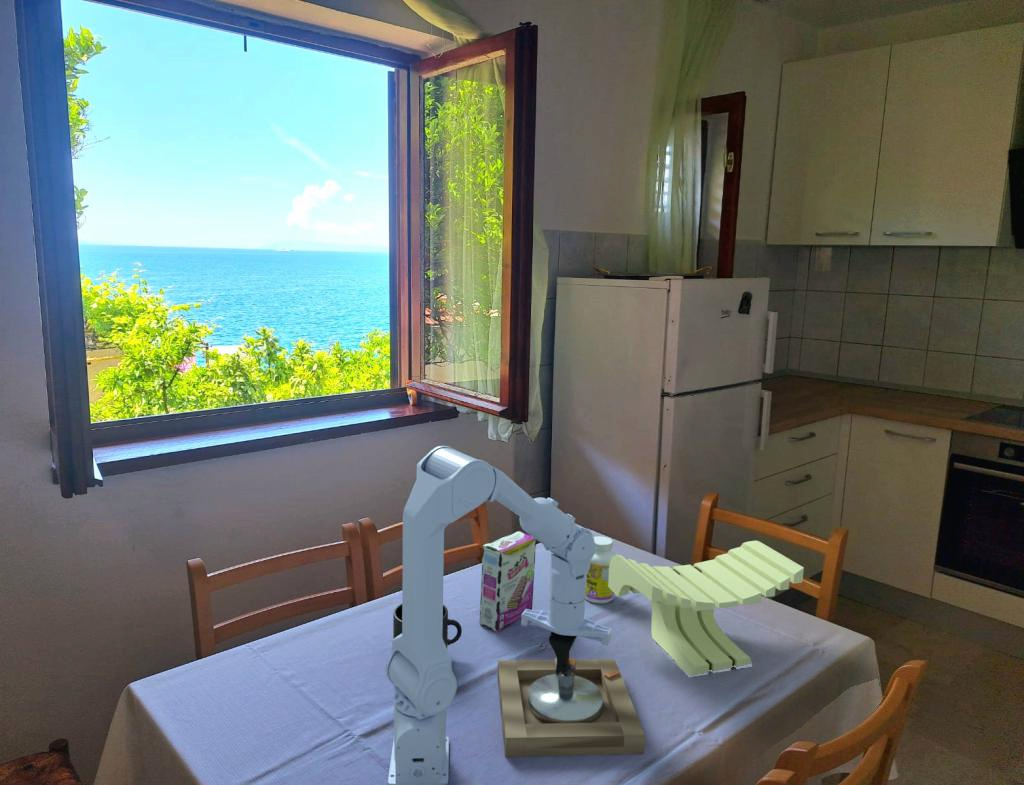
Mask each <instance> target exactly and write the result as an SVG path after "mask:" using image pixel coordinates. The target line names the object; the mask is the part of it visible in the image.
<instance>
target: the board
mask: <svg viewBox="0 0 1024 785" xmlns="http://www.w3.org/2000/svg"><path fill="white" fill-rule="evenodd" d="M556 665H557V658H556V657H554V659H524V660H523V659H519V660H517V659H516V660H514V659H513V660H512V659H511V660H506V659H505V660H504V659H503V660H501V659H500V660H499V659H498V660H497V675H496V676H497V687H498V697H499V706H500V715H501V727H502V729H501V730H502V736H503V738H502V739H503V746H504V747H503V748H504V756H505V758H512V757H513V758H514V757H515V758H519V757H523V758H524V757H525V758H526V757H561V756H564V757H565V756H566V757H567V756H568V757H569V756H598V755H599V756H603V755H604V756H605V755H607V756H608V755H612V756H613V755H639V754H638V753H644V752H645V742H646V740H645V739H646V734H645V732H644V728H643V727H642V724H641V721H640V719H639V716H638V714H637V712H636V709H635V706H634V704H633V701H632V698H631V697H630V693H629V691H628V689H627V686H626V684H625V681H624V679H623V676H622V673H621V671H620V669H619V665H618V664H617V661H616V658H605V659H604V658H601V659H599V658H593V659H592V658H591V659H590V658H589V659H585V658H583V659H582V658H581V659H576V676H579V677H582V678H585V679H587V680H589V681H591V682H592V683H594V684H595V685H596V686H597V687H598V688H599V689H600V691H601V693H602V695H603V706H602V712H601V715H600V716H599V717H598V719H596V720H595V721H594V722H592V723H553V724H547V723H545V722H543V721H541V720H540V719H538V718H537V717H536V716H534V715H533V713H532V712H531V711H530V709H529V706H528V692H529V688H530V686H531V685H532V683H533V682H535V681H536V680H537V679H539V678H541V677H544V676H547V675H552V674H556Z"/></svg>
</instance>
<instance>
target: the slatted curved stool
mask: <svg viewBox="0 0 1024 785" xmlns="http://www.w3.org/2000/svg"><path fill="white" fill-rule="evenodd" d="M804 569H805V567H804V566H802V565H800V564H798V563H797V562H795V561H794V560H791V559H790V558H789V557H786V556H785V555H783V554H782V553H780V552H778V551H776V550H775V549H773V548H771V547H770V546H768V545H766V544H764V543H763V542H761V541H759V540H751V541H750V540H749V541H745V542H742V543H741V545H740V546H739V547H738V546H737V547H735V548H731V549H729V550H728V551H727V553H723V554H719V555H715V557H714V559H710V560H705V561H700V562H696V563H694V564H693V565H691V564H685V565H673V566H672V567H670V566H664V565H663V566H657V565H652V566H650V565H649V564H648V563H643V562H639V563H638V561H636V560H634V559H630V558H627V559H626V558H625V557H624V556H623V555H620V554H616V555H614V556H613V557H612V558H611V561H610V565H609V579H608V587H609V588H610V589H611V590H612V591H613V592H614V595H616V597H618V598H620V597H623V596H626V595H628V594H629V592H632V594H640V593H641V594H642V595H643V596H644V597H645V598H646V599H648V601H650V604H651V606H650V607H651V626H650V627H651V629H650V630H651V633H650V634H651V637H652V640H653V639H654V640H655V641H656V642H657V643H658V644H659V645H660V646H661V647H662V648H663V649H664V650H665V651H666V652H667V653H669V655H670V656H671V657H672V659H674V660H675V661H676V663H677V664H678V665H679V666H680V667H681V668H682V669H683V670H684V671H685V672H686V673H688V674H689V675H690V676H693V675H698V674H704V673H710V672H709V670H712V671H718V670H724V669H729V668H732V666H734V665H735V666H736V667H739V666H744V665H748V664H753V663H752V658H751V657H750V656H749V655H747V654H746V653H745V652H744V651H743V650H742V649H741V648H740V647H738V645H737V644H736V643H734V642H733V641H732V640H731V639H730V638H729V637H728V636H727V635H726V633H724V631H723V630H722V629H721V627H720V626H719V625H718V623H717V621H716V619H715V614H714V612H715V611H714V610H715V607H716V608H718V609H724V608H731V607H738V605H739V604H740V605H741V606H746V605H752V604H753V605H755V604H761V602H762V601H761V600H762V596H763V597H765V598H769V597H775V596H776V589H777V590H778V591H785V590H789V589H790V583H792V584H793V585H794V584H800V583H801V584H802V583H803V579H804ZM672 659H671V660H672ZM676 663H675V664H676ZM677 664H676V665H677ZM678 665H677V666H678ZM679 666H678V667H679ZM680 667H679V668H680ZM681 668H680V669H681ZM682 669H681V670H682ZM732 669H733V668H732Z"/></svg>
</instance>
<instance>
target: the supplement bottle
mask: <svg viewBox="0 0 1024 785" xmlns="http://www.w3.org/2000/svg"><path fill="white" fill-rule="evenodd" d="M592 537H593V538H594V541H595V543H597V548H596V551H595V554H594V556H593V557H592V559H591V561H590V569H589V570H588V573H587V577H586V594H585V601H586V600H587V601H588V602H590V603H593V604H599V605H600V604H602V605H603V604H607V603H610V602H612V601H613V600H614V598H615V593H614V592H613V591H612V590H611V589H610V588H609V587H608V579H609V565H610V561H611V558H612V557H613V556H614V555H617V554H616V553H615V552H614V551H613V550H612V549H613V547H614V546H613V545H614V544H613V542H614V541H613V539H612V538H610V537H607V536H592Z"/></svg>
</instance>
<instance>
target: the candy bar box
mask: <svg viewBox="0 0 1024 785" xmlns="http://www.w3.org/2000/svg"><path fill="white" fill-rule="evenodd" d="M536 547H537V540H536V539H535V538H534V537H532V536H531V535H530V534H528V533H527V532H526V533H525V532H522V531H520V530H519V531H516V532H513V533H511V534H508V535H506V536H504V537H501V538H500V537H499V538H498V539H496V540H493V541H490V542H488V543H485V544H483V545H482V558H481V579H480V580H481V584H480V606H479V607H480V608H479V624H480V625H481V626H482V627H484V628H487V629H488V630H491V631H493V632H495V633H499V632H501V631H502V630H504V629H506V628H508V627H509V626H511V625H513V624H515V623H516V622H518V621H519V620H520V621H521V615H522V613H523V612H524V611H525V609H529V610H533V602H534V601H533V600H534V582H535V568H536V566H535V565H536V549H537V548H536Z"/></svg>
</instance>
